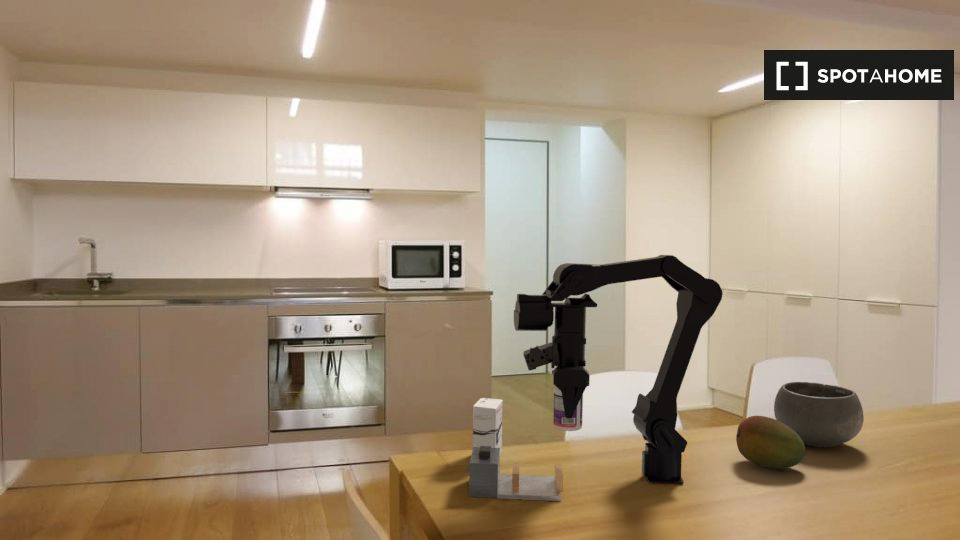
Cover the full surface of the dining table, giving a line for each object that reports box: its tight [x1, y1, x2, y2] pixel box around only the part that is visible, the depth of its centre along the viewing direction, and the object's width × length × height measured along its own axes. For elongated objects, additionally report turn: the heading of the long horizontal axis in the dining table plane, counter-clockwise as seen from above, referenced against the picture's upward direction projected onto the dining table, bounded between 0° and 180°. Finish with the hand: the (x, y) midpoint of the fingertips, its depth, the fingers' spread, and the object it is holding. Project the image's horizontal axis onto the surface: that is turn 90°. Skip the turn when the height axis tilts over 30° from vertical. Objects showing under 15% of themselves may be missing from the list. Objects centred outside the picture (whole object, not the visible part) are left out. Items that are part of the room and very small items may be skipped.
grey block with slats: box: [468, 446, 564, 502], centre depth 119 cm, size 16×10×7 cm, turn 86°
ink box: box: [472, 397, 504, 456], centre depth 136 cm, size 8×5×12 cm, turn 168°
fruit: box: [735, 415, 806, 470], centre depth 133 cm, size 12×12×10 cm
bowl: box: [773, 381, 864, 448], centre depth 147 cm, size 18×18×13 cm
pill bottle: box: [552, 386, 584, 432], centre depth 123 cm, size 5×5×10 cm
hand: (567, 414), depth 123 cm, fingers closed on pill bottle, 5 cm apart
